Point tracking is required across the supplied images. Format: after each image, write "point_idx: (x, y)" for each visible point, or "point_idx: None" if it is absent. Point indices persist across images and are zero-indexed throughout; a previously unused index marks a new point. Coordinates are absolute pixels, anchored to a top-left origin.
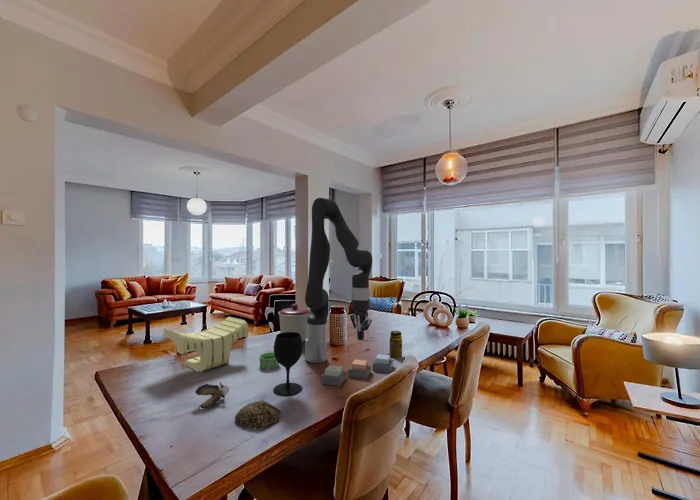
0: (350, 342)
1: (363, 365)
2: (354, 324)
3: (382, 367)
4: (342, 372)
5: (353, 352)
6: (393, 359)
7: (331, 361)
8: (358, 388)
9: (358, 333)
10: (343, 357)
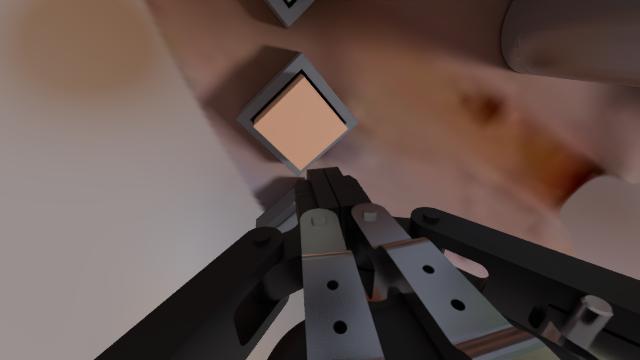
0: (552, 236)
1: (257, 121)
2: (452, 236)
3: (276, 210)
4: (288, 2)
5: (481, 202)
6: None
7: (478, 79)
8: (153, 15)
9: (332, 193)
10: (473, 147)
